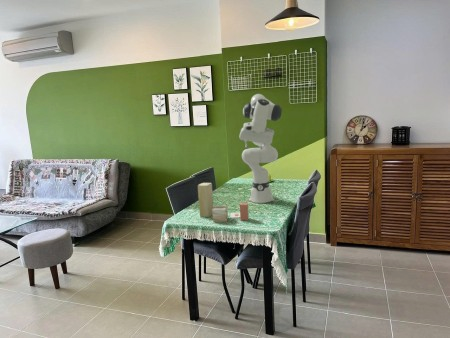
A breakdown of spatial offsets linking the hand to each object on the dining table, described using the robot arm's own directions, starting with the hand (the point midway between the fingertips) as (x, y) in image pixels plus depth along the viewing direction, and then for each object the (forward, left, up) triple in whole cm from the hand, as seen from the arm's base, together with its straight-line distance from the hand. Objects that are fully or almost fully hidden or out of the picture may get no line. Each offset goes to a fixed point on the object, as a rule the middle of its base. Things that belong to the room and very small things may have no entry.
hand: (253, 148), depth 209 cm
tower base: (+9, -22, -43) cm, 49 cm away
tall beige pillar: (0, -33, -43) cm, 54 cm away
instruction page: (0, -13, -43) cm, 45 cm away
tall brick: (+8, -7, -43) cm, 44 cm away
